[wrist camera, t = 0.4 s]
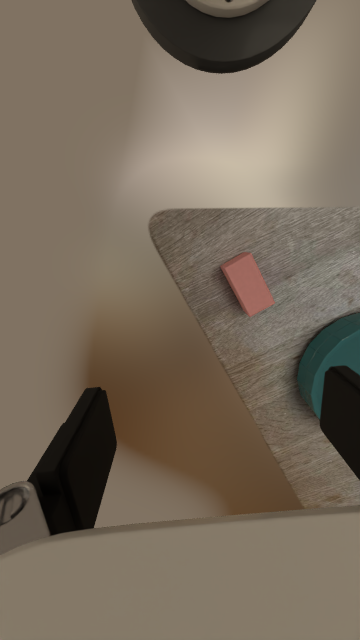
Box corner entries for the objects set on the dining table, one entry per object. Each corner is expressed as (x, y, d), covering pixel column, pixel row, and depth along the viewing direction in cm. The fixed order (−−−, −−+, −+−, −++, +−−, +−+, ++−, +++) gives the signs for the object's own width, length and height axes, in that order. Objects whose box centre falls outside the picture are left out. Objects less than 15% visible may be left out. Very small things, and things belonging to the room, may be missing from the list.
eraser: (219, 266, 27) (224, 268, 25) (244, 251, 27) (251, 252, 24) (243, 310, 29) (249, 317, 26) (267, 298, 28) (275, 303, 26)
